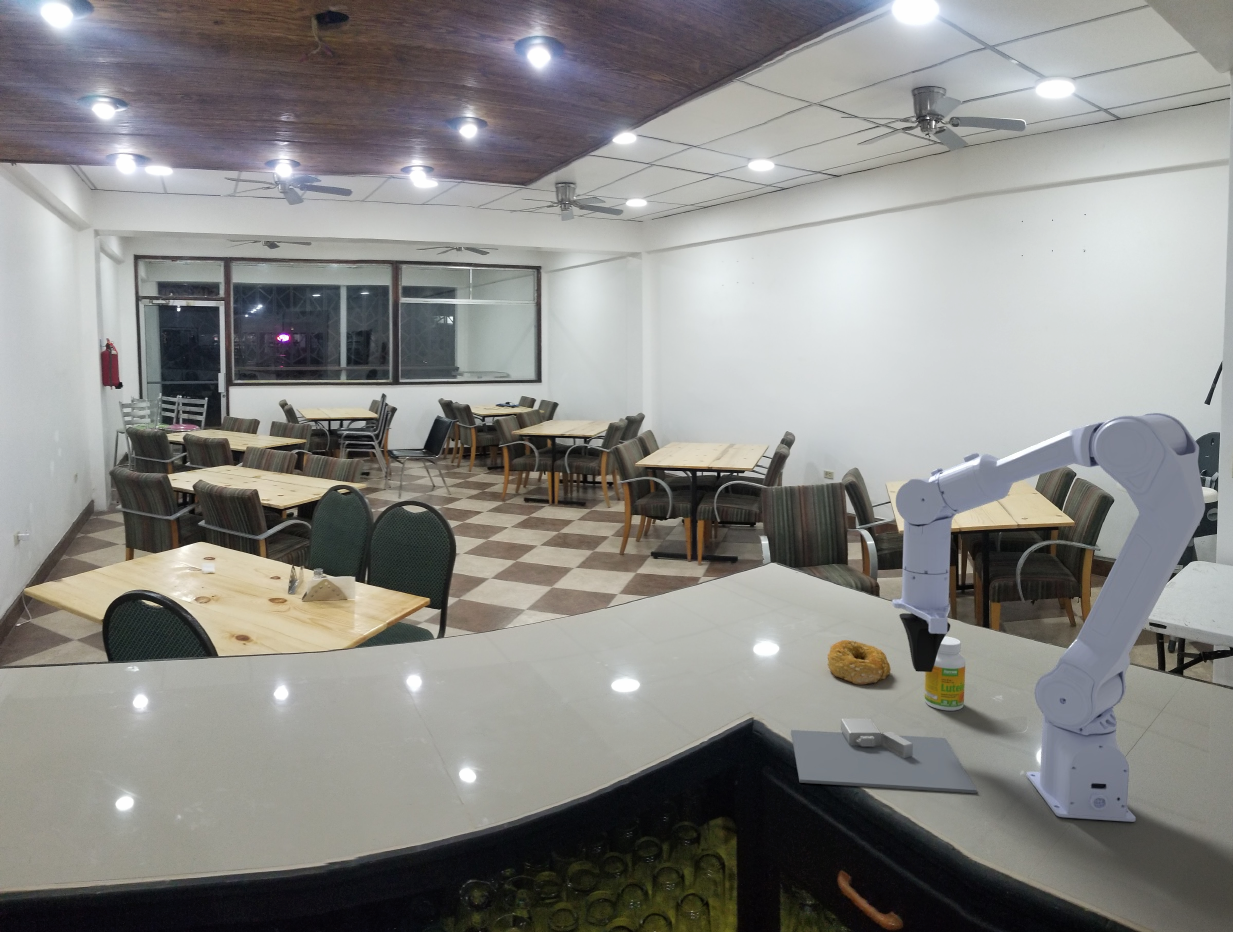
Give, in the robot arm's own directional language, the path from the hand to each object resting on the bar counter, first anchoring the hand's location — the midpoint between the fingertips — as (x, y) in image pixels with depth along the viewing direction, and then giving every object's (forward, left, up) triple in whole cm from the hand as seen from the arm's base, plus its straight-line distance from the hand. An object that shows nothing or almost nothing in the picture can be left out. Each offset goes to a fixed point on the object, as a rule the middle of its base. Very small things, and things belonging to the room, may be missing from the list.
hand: (922, 669), depth 104 cm
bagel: (+23, +4, -10) cm, 26 cm away
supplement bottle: (+12, -6, -10) cm, 16 cm away
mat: (-7, +7, -9) cm, 14 cm away
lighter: (+1, +7, -8) cm, 11 cm away
